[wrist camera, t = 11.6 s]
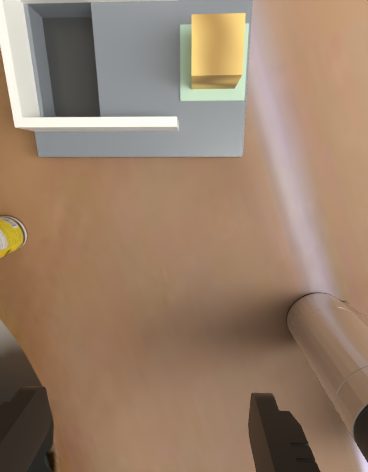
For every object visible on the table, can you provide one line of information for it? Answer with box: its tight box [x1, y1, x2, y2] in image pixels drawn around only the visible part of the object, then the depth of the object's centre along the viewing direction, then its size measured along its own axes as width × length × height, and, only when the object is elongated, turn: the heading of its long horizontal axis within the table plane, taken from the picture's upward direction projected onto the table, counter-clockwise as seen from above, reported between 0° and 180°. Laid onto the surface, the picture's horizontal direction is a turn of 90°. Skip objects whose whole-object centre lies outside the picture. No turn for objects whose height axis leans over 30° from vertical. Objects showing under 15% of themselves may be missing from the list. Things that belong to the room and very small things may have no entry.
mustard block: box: [191, 13, 246, 89], centre depth 26 cm, size 5×5×4 cm
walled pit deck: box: [0, 0, 252, 158], centre depth 28 cm, size 26×20×6 cm
